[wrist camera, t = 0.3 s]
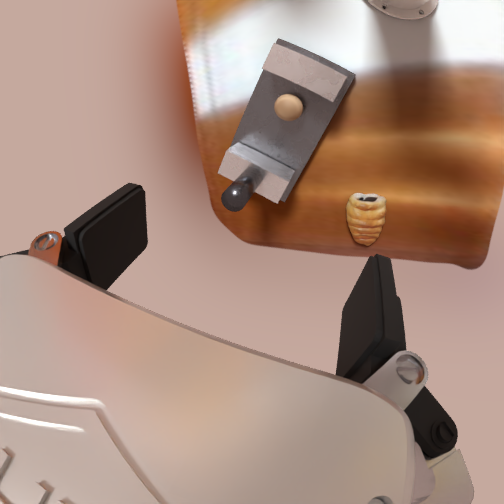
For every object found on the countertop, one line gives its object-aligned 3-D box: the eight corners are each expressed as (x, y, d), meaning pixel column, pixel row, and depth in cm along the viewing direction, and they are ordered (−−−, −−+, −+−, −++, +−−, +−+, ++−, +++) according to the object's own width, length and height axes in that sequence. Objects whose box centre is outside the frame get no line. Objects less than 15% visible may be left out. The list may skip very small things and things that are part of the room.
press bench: (280, 39, 32) (269, 33, 28) (355, 74, 33) (357, 74, 28) (224, 166, 48) (209, 180, 43) (286, 198, 48) (278, 216, 43)
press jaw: (238, 142, 43) (201, 168, 33) (295, 170, 43) (276, 207, 33) (229, 162, 45) (193, 195, 35) (284, 190, 45) (263, 231, 35)
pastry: (382, 240, 47) (383, 253, 44) (345, 239, 49) (344, 251, 46) (385, 192, 42) (388, 202, 39) (346, 190, 44) (345, 200, 41)
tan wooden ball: (284, 88, 36) (278, 90, 33) (309, 100, 36) (305, 103, 33) (273, 111, 38) (266, 115, 35) (297, 123, 39) (293, 128, 35)
